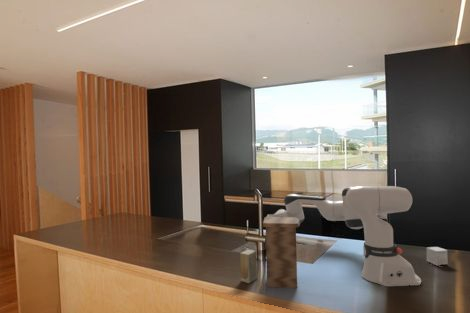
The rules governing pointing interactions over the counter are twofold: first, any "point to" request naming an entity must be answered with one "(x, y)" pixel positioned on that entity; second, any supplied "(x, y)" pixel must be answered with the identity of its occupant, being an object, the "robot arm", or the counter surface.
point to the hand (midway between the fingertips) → (281, 225)
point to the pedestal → (281, 251)
